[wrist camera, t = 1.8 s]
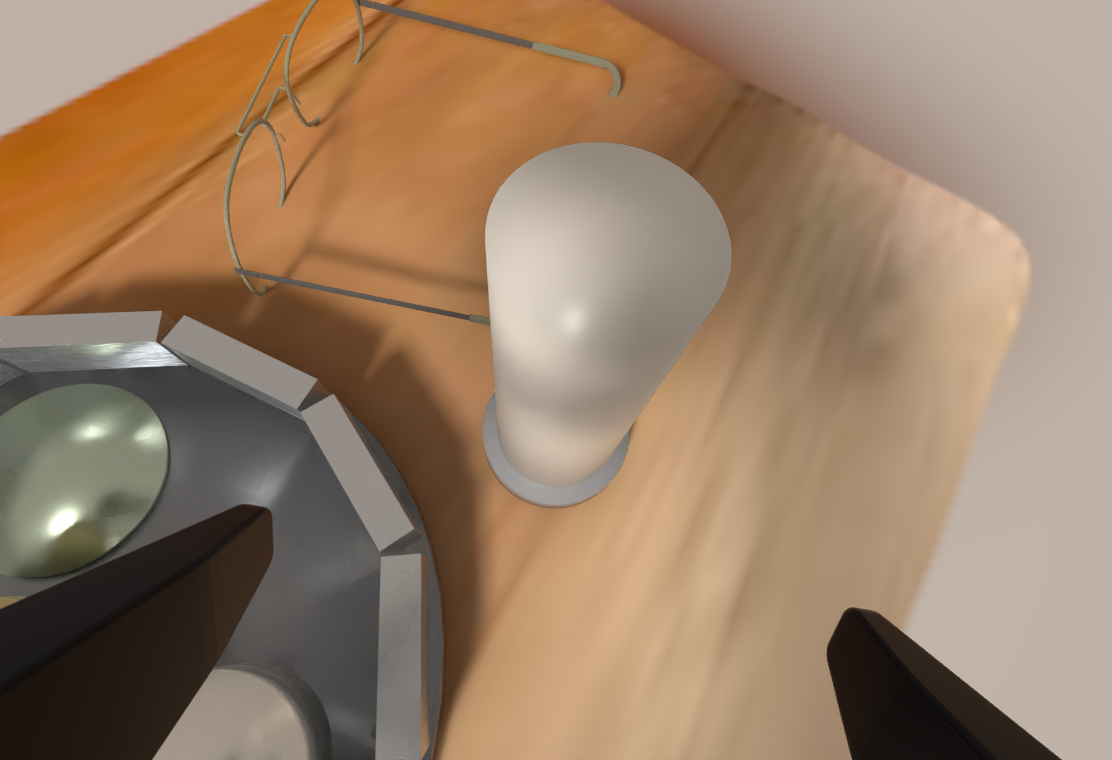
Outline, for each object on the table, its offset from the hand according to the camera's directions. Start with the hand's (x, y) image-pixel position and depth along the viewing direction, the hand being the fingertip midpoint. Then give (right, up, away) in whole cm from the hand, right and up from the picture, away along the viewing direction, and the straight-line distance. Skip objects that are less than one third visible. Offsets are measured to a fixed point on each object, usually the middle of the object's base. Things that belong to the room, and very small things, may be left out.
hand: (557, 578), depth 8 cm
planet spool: (0, +1, +13) cm, 13 cm away
